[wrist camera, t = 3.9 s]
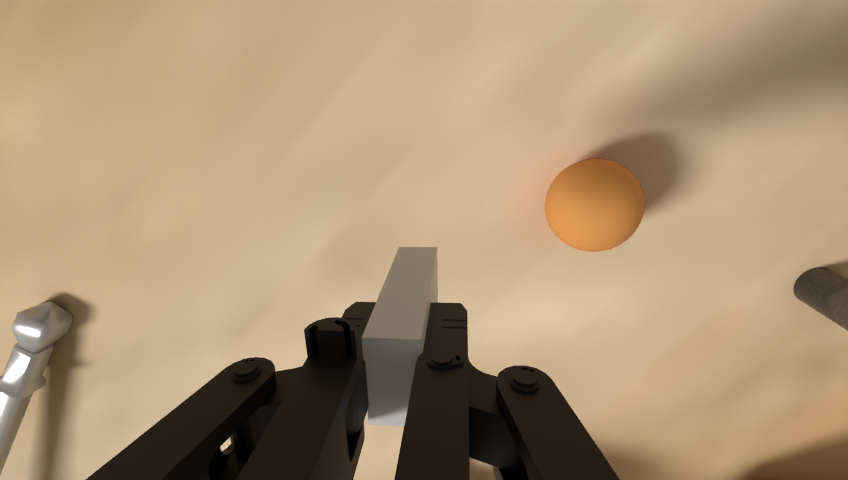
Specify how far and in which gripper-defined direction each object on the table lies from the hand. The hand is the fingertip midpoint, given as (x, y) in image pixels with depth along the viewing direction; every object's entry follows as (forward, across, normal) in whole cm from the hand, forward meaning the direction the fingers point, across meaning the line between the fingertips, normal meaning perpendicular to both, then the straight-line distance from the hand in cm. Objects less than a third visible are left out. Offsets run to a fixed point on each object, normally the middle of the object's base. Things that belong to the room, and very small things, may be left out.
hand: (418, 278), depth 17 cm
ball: (+10, +10, 0) cm, 14 cm away
